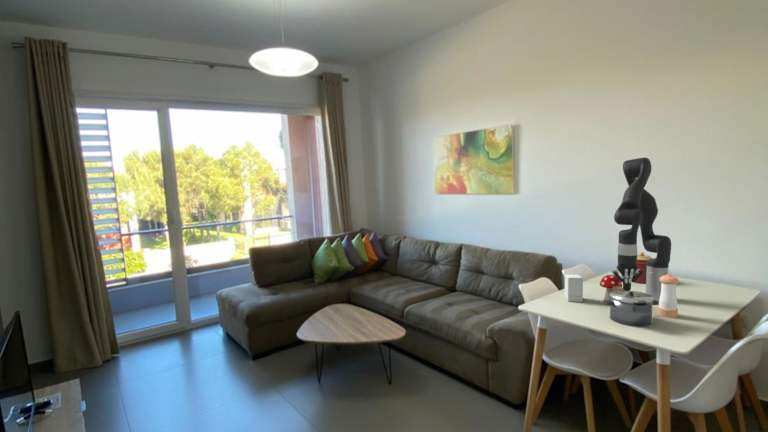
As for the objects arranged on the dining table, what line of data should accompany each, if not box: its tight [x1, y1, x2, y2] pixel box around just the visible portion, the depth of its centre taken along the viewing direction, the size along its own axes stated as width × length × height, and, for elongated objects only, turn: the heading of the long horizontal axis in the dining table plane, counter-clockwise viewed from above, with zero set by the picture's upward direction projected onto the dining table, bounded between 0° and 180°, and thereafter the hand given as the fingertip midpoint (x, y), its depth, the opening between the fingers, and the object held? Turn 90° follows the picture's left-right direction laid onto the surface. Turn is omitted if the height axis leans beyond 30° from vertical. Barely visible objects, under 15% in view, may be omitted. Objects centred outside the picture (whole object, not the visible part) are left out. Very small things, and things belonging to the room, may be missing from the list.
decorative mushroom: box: [599, 274, 623, 307], centre depth 200 cm, size 10×9×15 cm
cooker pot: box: [603, 298, 659, 328], centre depth 177 cm, size 22×18×10 cm
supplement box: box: [564, 274, 584, 303], centre depth 209 cm, size 7×7×13 cm
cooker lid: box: [610, 286, 653, 304], centre depth 180 cm, size 17×23×3 cm
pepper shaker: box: [657, 273, 679, 319], centre depth 182 cm, size 7×7×19 cm
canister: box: [633, 251, 654, 284], centre depth 238 cm, size 13×13×18 cm
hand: (626, 290), depth 181 cm, fingers closed
